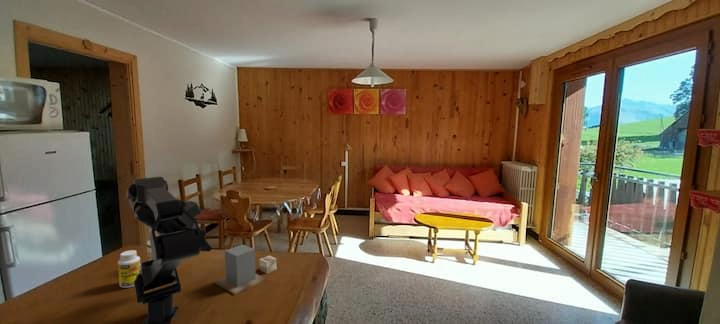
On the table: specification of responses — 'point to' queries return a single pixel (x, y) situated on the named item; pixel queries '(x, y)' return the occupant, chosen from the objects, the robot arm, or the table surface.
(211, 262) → the table surface
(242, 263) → the sharp-edged grey box
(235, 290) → the light tan board
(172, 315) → the robot arm
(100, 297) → the table surface
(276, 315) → the table surface
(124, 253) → the supplement bottle
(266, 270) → the letter cube
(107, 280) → the table surface
